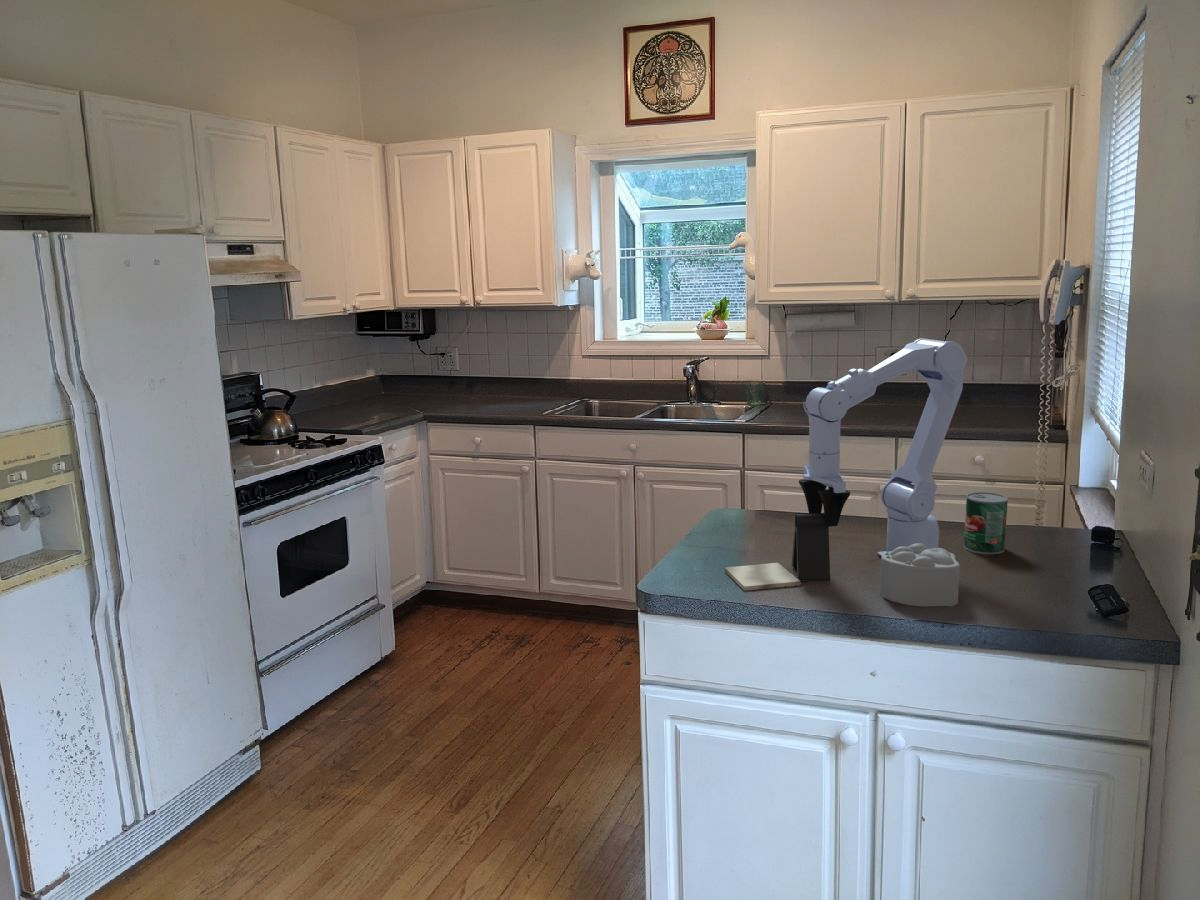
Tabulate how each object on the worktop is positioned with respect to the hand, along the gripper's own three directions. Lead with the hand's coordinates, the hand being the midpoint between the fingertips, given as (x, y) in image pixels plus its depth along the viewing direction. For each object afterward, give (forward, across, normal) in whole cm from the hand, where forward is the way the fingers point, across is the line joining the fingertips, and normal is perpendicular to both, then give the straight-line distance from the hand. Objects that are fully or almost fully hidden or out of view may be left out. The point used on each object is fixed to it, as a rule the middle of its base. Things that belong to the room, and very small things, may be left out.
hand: (823, 520), depth 180 cm
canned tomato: (+11, -4, +38) cm, 39 cm away
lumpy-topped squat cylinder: (+10, +17, +11) cm, 22 cm away
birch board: (+10, +1, -13) cm, 16 cm away
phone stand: (+10, +1, -3) cm, 11 cm away
